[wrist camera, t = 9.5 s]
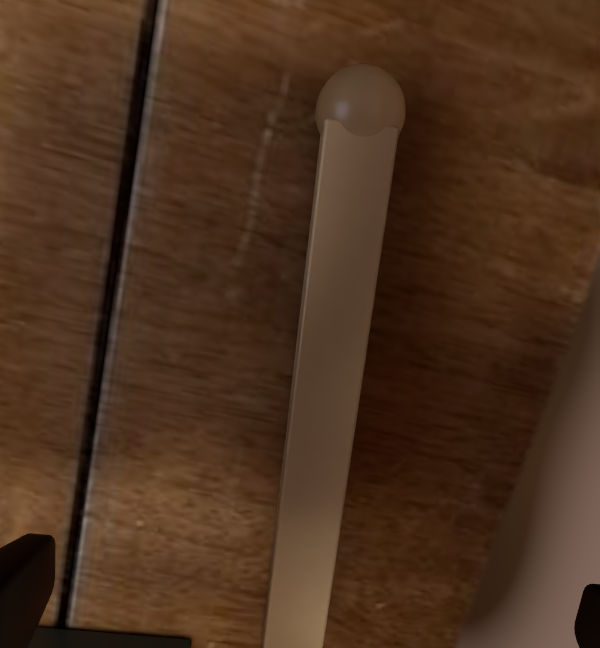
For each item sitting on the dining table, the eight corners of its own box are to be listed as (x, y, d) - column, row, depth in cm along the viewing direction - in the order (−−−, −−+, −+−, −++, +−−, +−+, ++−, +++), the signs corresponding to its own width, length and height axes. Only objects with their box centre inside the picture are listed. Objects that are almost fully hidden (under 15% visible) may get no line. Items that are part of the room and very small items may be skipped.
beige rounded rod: (402, 81, 12) (422, 58, 10) (310, 707, 16) (312, 775, 14) (319, 71, 12) (323, 45, 10) (248, 702, 16) (241, 769, 14)
